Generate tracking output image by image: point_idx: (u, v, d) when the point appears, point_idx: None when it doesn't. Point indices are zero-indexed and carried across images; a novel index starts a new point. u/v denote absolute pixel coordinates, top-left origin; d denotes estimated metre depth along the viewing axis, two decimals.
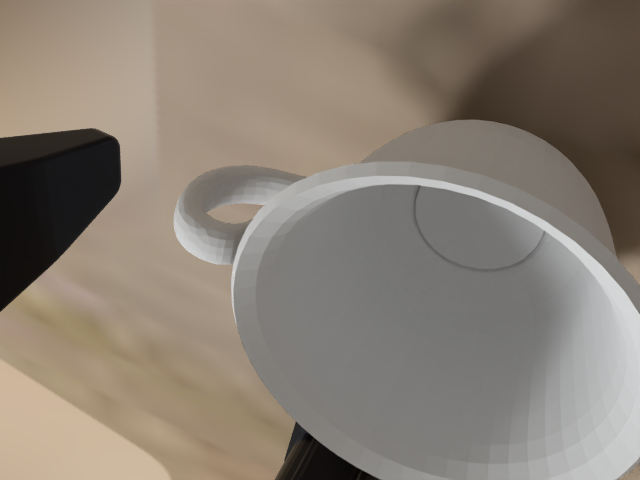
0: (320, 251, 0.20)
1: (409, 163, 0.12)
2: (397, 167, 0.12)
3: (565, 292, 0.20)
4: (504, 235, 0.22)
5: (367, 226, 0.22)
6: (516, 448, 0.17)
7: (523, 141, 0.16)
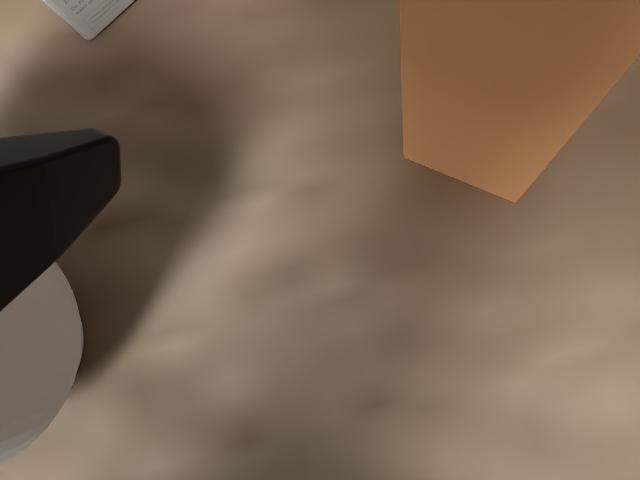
0: None
1: None
2: None
3: None
4: None
5: None
6: None
7: None
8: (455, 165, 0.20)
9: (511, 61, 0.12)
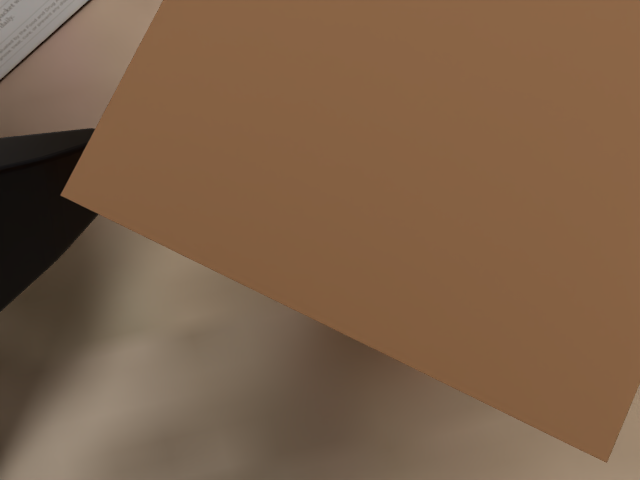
0: None
1: None
2: None
3: None
4: None
5: None
6: None
7: None
8: None
9: None
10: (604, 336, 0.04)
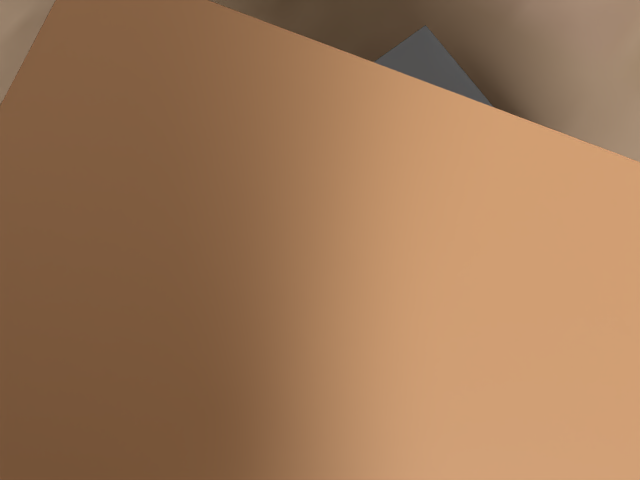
0: None
1: None
2: None
3: None
4: None
5: None
6: None
7: None
8: None
9: None
10: None
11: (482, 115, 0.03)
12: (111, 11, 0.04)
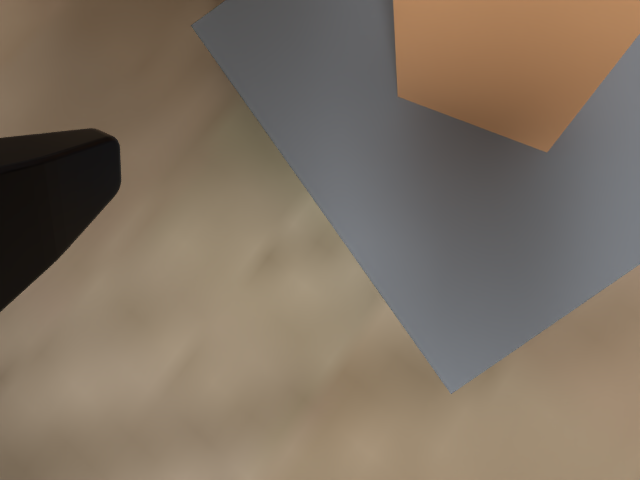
0: None
1: None
2: None
3: None
4: None
5: None
6: None
7: None
8: (467, 98, 0.15)
9: None
10: None
11: None
12: None
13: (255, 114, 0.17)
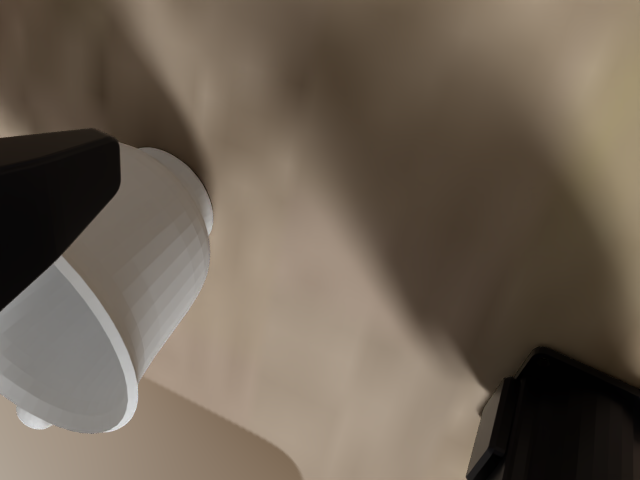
0: (101, 342, 0.26)
1: None
2: None
3: None
4: None
5: None
6: None
7: None
8: None
9: None
10: None
11: None
12: None
13: None
